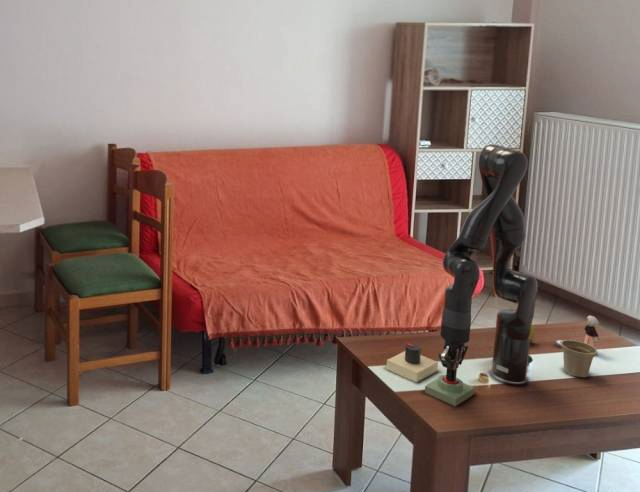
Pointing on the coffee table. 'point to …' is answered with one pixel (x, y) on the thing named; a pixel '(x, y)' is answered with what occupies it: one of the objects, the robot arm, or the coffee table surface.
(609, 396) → the coffee table surface
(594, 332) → the grandmother figurine
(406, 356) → the hob knob
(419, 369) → the panel
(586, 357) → the flower pot
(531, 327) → the lemon
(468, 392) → the switch box
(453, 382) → the button
